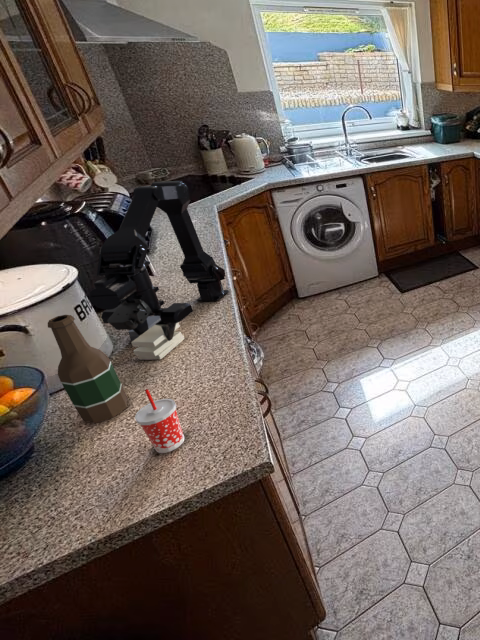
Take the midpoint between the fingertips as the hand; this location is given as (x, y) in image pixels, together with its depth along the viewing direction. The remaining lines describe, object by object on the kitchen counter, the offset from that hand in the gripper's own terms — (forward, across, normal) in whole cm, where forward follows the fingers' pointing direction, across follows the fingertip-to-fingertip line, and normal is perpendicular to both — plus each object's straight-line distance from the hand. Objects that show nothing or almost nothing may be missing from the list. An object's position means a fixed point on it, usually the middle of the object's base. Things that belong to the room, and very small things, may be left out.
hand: (159, 339), depth 109 cm
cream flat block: (+3, 0, 0) cm, 3 cm away
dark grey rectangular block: (+3, -9, +9) cm, 13 cm away
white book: (-1, 0, 0) cm, 1 cm away
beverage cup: (+3, +24, -31) cm, 39 cm away
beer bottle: (+3, +4, -22) cm, 23 cm away
